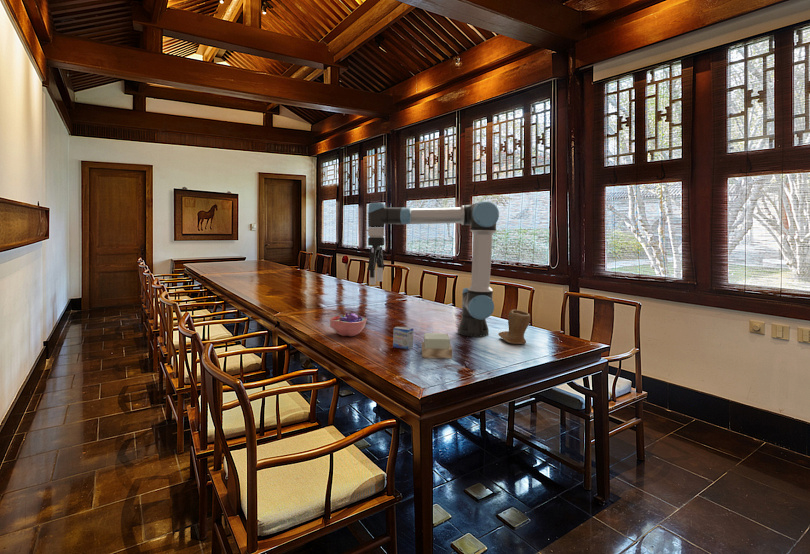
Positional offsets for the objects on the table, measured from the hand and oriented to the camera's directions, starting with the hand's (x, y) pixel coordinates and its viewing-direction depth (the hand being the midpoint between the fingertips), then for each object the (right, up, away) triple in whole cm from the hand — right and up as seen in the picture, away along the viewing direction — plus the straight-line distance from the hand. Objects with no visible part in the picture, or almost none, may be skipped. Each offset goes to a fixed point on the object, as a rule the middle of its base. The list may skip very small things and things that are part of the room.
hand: (376, 283), depth 209 cm
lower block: (+26, -30, -20) cm, 45 cm away
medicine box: (+13, -28, -10) cm, 33 cm away
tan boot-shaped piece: (+65, -28, +2) cm, 70 cm away
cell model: (-15, -26, +11) cm, 32 cm away
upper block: (+26, -26, -21) cm, 42 cm away
